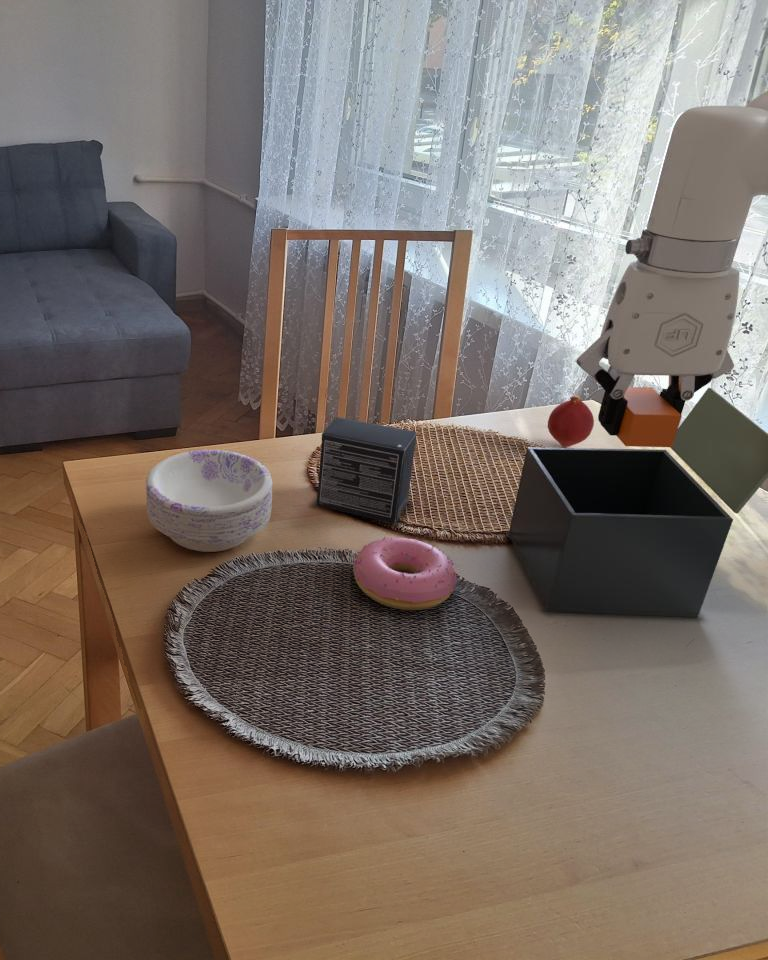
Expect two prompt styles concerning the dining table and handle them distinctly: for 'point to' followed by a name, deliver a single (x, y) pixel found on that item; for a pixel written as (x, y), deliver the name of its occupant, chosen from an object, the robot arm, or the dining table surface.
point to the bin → (616, 531)
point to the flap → (723, 449)
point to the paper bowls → (209, 498)
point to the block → (648, 419)
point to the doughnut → (399, 590)
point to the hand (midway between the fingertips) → (635, 428)
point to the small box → (365, 469)
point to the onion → (571, 422)
